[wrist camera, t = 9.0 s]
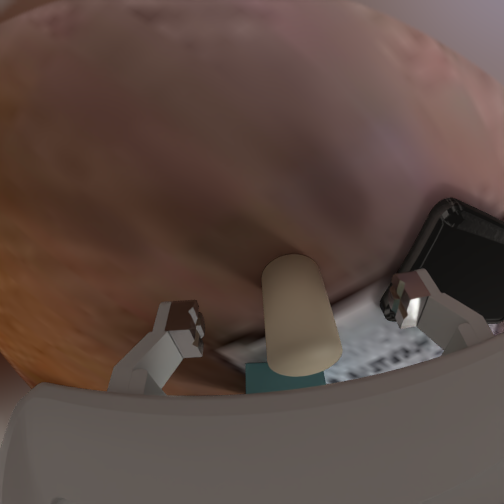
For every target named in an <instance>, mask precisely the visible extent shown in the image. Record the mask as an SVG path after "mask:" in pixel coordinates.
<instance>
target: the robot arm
mask: <svg viewBox="0 0 504 504" xmlns="http://www.w3.org/2000/svg"><path fill="white" fill-rule="evenodd" d="M391 282H392V284H393V285H392V286H391V287H390V289H389V292H388V302H389V306H390V308H391V310H392V311H394V312H395V313H396V316H395V319H396V321H397V323H398V326H399V328H400V329H405V328H410V327H414V326H417V327H418V328H419V329H420V330H421V331H422V332H424V333H425V334H426V335H427V336H428V337H429V338H431V339H432V340H433V341H434V342H435V343H436V344H438V345H439V346H440V347H441V348H442V349H443V350H444V352H443V354H442V355H441V356H440V357H437V358H434V359H431V360H428V361H425V362H421V363H418V364H414V365H411V366H407V367H404V368H400V369H396V370H392V371H388V372H384V373H380V374H376V375H372V376H367V377H363V378H358V379H353V380H348V381H343V382H338V383H332V384H326V385H320V386H314V387H307V388H300V389H292V390H283V391H274V392H264V393H252V394H237V395H214V396H167V395H166V394H165V393H164V392H163V390H162V387H163V386H164V385H165V383H166V382H167V380H168V379H169V378H170V376H171V375H172V374H173V372H174V371H175V369H176V368H177V367H178V365H179V364H180V363H181V361H182V360H183V358H191V357H202V353H203V341H202V339H201V338H202V337H203V336H204V334H205V322H204V318H203V315H202V313H200V312H199V305H198V302H197V300H185V301H173V302H161V303H160V305H159V308H158V312H157V315H156V319H155V323H154V327H153V331H152V332H149V333H148V334H147V335H146V336H145V337H144V338H143V339H142V340H141V341H140V342H139V343H138V344H137V345H136V346H135V347H134V348H133V349H132V350H131V351H130V352H129V353H128V354H127V355H126V356H125V357H124V358H123V359H122V360H121V361H120V362H119V363H118V364H117V365H116V366H115V367H114V368H113V372H112V375H111V379H110V383H109V386H108V390H107V392H106V391H97V390H89V389H82V388H75V387H69V386H63V385H57V384H52V383H47V382H42V383H39V384H38V385H36V386H35V387H34V388H33V389H31V390H30V391H29V392H28V393H27V394H26V395H25V396H24V397H23V398H22V399H20V401H19V402H18V403H17V405H16V406H15V408H14V410H13V412H12V415H11V417H10V420H9V423H8V425H7V428H6V431H5V434H4V438H3V441H2V445H1V448H0V504H504V332H503V333H500V334H498V335H496V336H494V335H493V333H492V331H491V329H490V328H489V326H488V324H487V323H486V321H485V319H484V318H483V316H481V315H480V314H478V313H477V312H475V311H473V310H472V309H470V308H469V307H467V306H465V305H464V304H462V303H460V302H459V301H457V300H455V299H454V298H452V297H450V296H449V295H447V294H445V293H441V292H440V290H439V289H438V287H437V286H436V284H435V283H434V281H433V280H432V278H431V277H430V275H429V274H428V272H427V271H426V270H425V269H424V268H423V269H418V270H414V271H407V272H402V273H396V274H394V275H393V276H392V279H391Z"/></svg>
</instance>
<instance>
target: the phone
mask: <svg viewBox="0 0 504 504" xmlns="http://www.w3.org/2000/svg"><path fill="white" fill-rule="evenodd" d="M423 268H424V269H425V270H426V271H427V272H428V274H429V275H430V277H431V278H432V280H433V281H434V283H435V284H436V286H437V287H438V289H439V290H440V292H441V293H445V294H447V295H449V296H450V297H452V298H454V299H455V300H457V301H459V302H460V303H462V304H464V305H465V306H467V307H469V308H470V309H472V310H473V311H475V312H477V313H478V314H480V315H481V316H483V318H484V319H485V321H486V323H487V324H497V323H500V322H502V321H503V320H504V222H503V221H501V220H499V219H497V218H495V217H493V216H491V215H489V214H487V213H485V212H483V211H481V210H479V209H477V208H475V207H472V206H470V205H468V204H466V203H464V202H462V201H459V200H457V199H455V198H446V199H443V200H441V201H440V202H438V203H437V204H436V205H435V206H434V207H433V209H432V211H431V212H430V214H429V216H428V218H427V220H426V222H425V224H424V226H423V228H422V230H421V232H420V234H419V235H418V237H417V239H416V241H415V243H414V245H413V247H412V248H411V250H410V252H409V254H408V256H407V257H406V259H405V261H404V263H403V264H402V266H401V268H400V269H399V271H398V273H402V272H407V271H414V270H418V269H423ZM392 285H393V284H392V283H391V284H390V286H389V287H388V289H387V291H386V292H385V294H384V295H383V297H382V299H381V301H380V307H381V309H382V311H383V314H384V316H385V318H386V319H387V320H388V321H395V322H397V321H396V319H395V316H396V313H395V312H394V311H392V310H391V308H390V306H389V302H388V292H389V289H390V287H391V286H392Z"/></svg>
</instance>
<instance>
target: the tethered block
mask: <svg viewBox="0 0 504 504" xmlns="http://www.w3.org/2000/svg"><path fill="white" fill-rule="evenodd" d="M261 281H262V294H263V308H264V322H265V336H266V350H267V363H247V364H246V394H252V393H264V392H274V391H283V390H292V389H300V388H307V387H314V386H320V385H326V382H325V377H324V372H323V371H324V370H326V369H328V368H329V367H331V366H332V365H334V364H335V363H336V362H337V361H338V360H339V358H340V357H341V355H342V345H341V342H340V338H339V334H338V331H337V327H336V323H335V320H334V316H333V313H332V309H331V306H330V303H329V299H328V296H327V293H326V289H325V286H324V283H323V279H322V276H321V273H320V270H319V267H318V265H317V264H316V262H315V261H314V260H312V259H311V258H309V257H307V256H304V255H299V254H289V255H284V256H281V257H278V258H276V259H275V260H273V261H272V262H270V263H269V264H268V265H267V266H266V267H265V269H264V271H263V273H262V278H261Z"/></svg>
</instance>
